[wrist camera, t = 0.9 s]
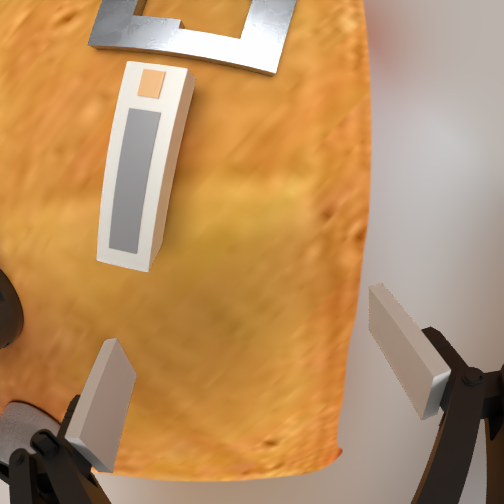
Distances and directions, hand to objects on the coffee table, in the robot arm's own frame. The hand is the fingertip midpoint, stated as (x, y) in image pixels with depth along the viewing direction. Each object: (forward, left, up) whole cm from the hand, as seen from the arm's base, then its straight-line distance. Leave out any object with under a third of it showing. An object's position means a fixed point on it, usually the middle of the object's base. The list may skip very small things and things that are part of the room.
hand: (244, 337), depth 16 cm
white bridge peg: (-9, +5, -20) cm, 23 cm away
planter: (-31, -51, -21) cm, 63 cm away
